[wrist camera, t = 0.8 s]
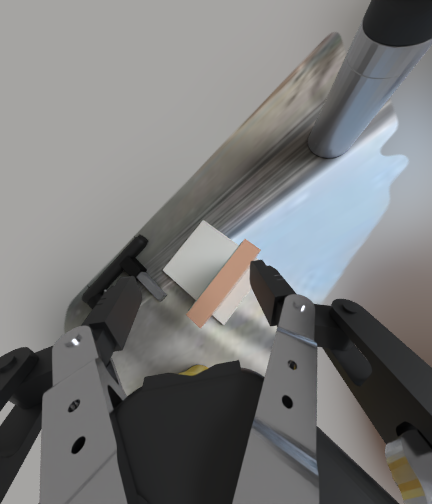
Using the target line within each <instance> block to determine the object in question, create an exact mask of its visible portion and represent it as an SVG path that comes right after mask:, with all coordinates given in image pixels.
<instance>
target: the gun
mask: <svg viewBox="0 0 432 504" xmlns="http://www.w3.org/2000/svg"><path fill="white" fill-rule="evenodd" d="M134 237H135V236H134ZM147 243H148V240H147V239H146V238H145V237H143V236H142V235H139V236H138V237H135V239H134V240H133V241H132V242H131V243H130V244H129V245H128V246H127V247H126V248H125V249H124V251H123V252H122V253H121V254H120V255H119V256H118V257H117V258H116V259H115V260H114V261H113V262H112V264H111V265H110V266H109V267H108V268H107V269H106V270H105V271H104V272H103V273H102V274H101V276H100V277H99V278H98V279H97V280H96V281H95V282H94V283H93V284H92V285H91V286H90V287H88V288H89V289H88V290H87V291H86V292H85V293H84V294H83V296H82V300H83V301H84V302H85V303H88V305H89V306H90V307H91V308H92V309H93V308H94V307H95V306H96V305H97V303H98V301H99V300H101V297H102V296H103V292H106V291H107V290H106V289H107V288H108V287H109V286H110V285H111V284H112V282H113V281H114V280H115V279H116V278H117V277H118V276H119V275H120V274H121V273H122V272H123V270H125V271H126V272H127V274H128V275H129V276H134V277H135V279H136V281H138V280H139V281H140V282H141V283H142V284H143V285H144V286H145V287H146V288H147V289H148V290H149V291H150V292H151V293H152V294H153V295H154V296H155V297H156V298H157V299H158V300H159V301H162V300H163V299H164V298H165V297H166V296H167V295H166V293H165V292H164V291H163V290H162V289H161V288H160V287H159V286H158V285H157V284H156V283H155V282H154V281H153V280H152V279H151V278H150V276H149V275H148V274H147V273H146V271H147V270H146V268H145V267H144V266H143V265H142V264H141V263H140V262H139V261H138V260H137V259H136V258H135V257H136V256H137V255H138V254H139V253H140V252H141V251H142V250H143V249H144V247H145V246H146V245H147Z"/></svg>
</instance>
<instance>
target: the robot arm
mask: <svg viewBox="0 0 432 504" xmlns="http://www.w3.org/2000/svg"><path fill="white" fill-rule="evenodd" d="M431 45H432V0H371V3H370V5H369V7H368V9H367V11H366V13H365V16H364V18H363V20H362V22H361V24H360V26H359V29H358V31H357V33H356V35H355V37H354V40H353V42H352V44H351V46H350V48H349V51H348V53H347V55H346V57H345V59H344V61H343V64H342V66H341V68H340V70H339V72H338V74H337V77H336V79H335V81H334V83H333V85H332V88H331V90H330V92H329V94H328V96H327V98H326V101H325V103H324V105H323V107H322V109H321V111H320V114H319V116H318V118H317V120H316V122H315V124H314V127H313V129H312V131H311V133H310V135H309V137H308V146H309V148H310V150H311V151H312V152H313V153H314V154H316V155H318V156H320V157H325V158H333V157H338V156H340V155H342V154H344V153H345V152H346V151H347V150H348V149H349V148H350V147H351V145H352V144H353V143H354V142H355V140H356V139H357V138H358V137H359V135H360V134H361V133H362V132H363V131H364V129H365V128H366V127H367V126H368V124H369V123H370V122H371V121H372V119H373V118H374V117H375V116H376V114H377V113H378V112H379V111H380V109H381V108H382V107H383V106H384V104H385V103H386V102H387V101H388V99H389V98H390V97H391V96H392V94H393V93H394V91H396V89H397V88H398V87H399V86H400V84H401V83H402V82H403V81H404V79H405V78H406V77H407V76H408V74H409V73H410V72H411V70H412V69H413V68H414V67H415V66H416V64H417V63H418V62H419V60H420V59H421V58H422V57H423V55H424V54H425V53H426V51H427V50H428V49H429V48H430V46H431ZM249 280H250V285H251V288H252V290H253V292H254V294H255V296H256V298H257V300H258V302H259V304H260V306H261V308H262V310H263V312H264V314H265V316H266V318H267V320H268V322H269V325H270V326H276V325H277V331H276V335H275V339H274V343H273V347H272V351H271V355H270V358H269V362H268V366H267V370H266V374H265V377H263V376H262V375H260V374H259V373H257V372H255V371H252V370H250V369H246V368H241V367H240V362H239V360H237V361H232V362H226V363H221V364H216V365H214V366H212V367H210V368H208V369H206V370H204V371H202V372H200V373H198V374H196V375H193V376H189V375H182V374H174V373H165V374H160V375H154V376H148V377H145V378H144V382H143V386H142V387H140V388H139V389H137V390H136V391H134V392H133V393H131V394H130V395H129V396H126V394H125V392H124V390H123V388H122V385H121V382H120V379H119V376H118V374H117V371H116V368H115V365H114V362H113V360H112V358H111V356H112V354H113V352H114V351H120V350H123V347H124V345H125V342H126V340H127V337H128V335H129V332H130V330H131V327H132V325H133V322H134V319H135V317H136V314H137V312H138V309H139V307H140V304H141V301H142V294H141V291H140V289H139V286H138V284H137V281H136V279H135V277H134V276H128V277H121V278H120V279H119V280H118V281H117V283H116V284H115V286H112V287H111V288H110V289H108V290H107V291H106V292H105V293H104V294H103V296H102V297H101V300H99V301H98V303H97V305H96V306H95V307H94V308H93V310H92V311H91V313H90V314H89V315H88V317H87V318H86V319H85V321H84V322H83V324H82V325H81V326H79V327H76V328H74V329H72V330H70V331H68V332H67V333H65V334H64V335H63V336H61V337H60V338H59V339H58V340H57V341H56V343H55V344H54V346H51V347H48V348H46V349H43V350H41V351H38V352H36V353H34V352H33V351H31V350H30V349H29V348H27V347H23V348H19V349H15V350H13V351H11V352H9V353H7V354H5V355H3V356H2V357H0V411H1V410H2V408H3V407H4V406H5V404H6V403H7V402H8V401H10V402H12V403H13V404H15V406H14V407H13V409H12V410H11V412H10V413H9V415H8V416H7V417H6V419H5V420H4V422H3V423H2V424H1V426H0V503H1V502H2V500H3V498H4V496H5V494H6V493H7V491H8V489H9V487H10V485H11V484H12V482H13V480H14V478H15V476H16V475H17V473H18V471H19V469H20V467H21V465H22V464H23V462H24V460H25V458H26V456H27V454H28V452H29V451H30V449H31V447H32V445H33V443H34V441H35V440H36V438H37V436H38V434H39V432H40V430H41V429H42V434H41V469H40V503H39V504H399V503H398V502H397V501H396V500H395V499H394V498H393V497H392V496H391V495H390V494H389V493H388V492H386V491H385V490H384V489H383V488H382V487H381V486H380V485H379V484H378V483H377V482H376V481H375V480H374V479H373V478H371V477H370V476H369V475H368V474H367V473H366V472H365V471H364V470H363V469H362V468H361V467H360V466H359V465H357V463H356V462H354V460H352V459H351V458H350V457H349V456H348V455H347V454H346V453H345V452H344V451H343V450H342V449H341V448H340V447H339V446H338V445H336V444H335V443H334V442H333V441H332V440H331V439H330V438H329V437H328V436H327V435H326V434H325V433H324V432H322V430H321V429H320V428H318V427H317V426H316V421H317V347H322V348H323V349H324V351H325V352H326V354H327V355H328V357H329V358H330V360H331V361H332V363H333V365H334V366H335V367H336V369H337V370H338V372H339V374H340V375H341V377H342V378H343V380H344V381H345V383H346V384H347V386H348V387H349V389H350V390H351V392H352V393H353V395H354V396H355V398H356V399H357V401H358V402H359V404H360V405H361V407H362V408H363V410H364V411H365V413H366V415H367V416H368V418H369V419H370V421H371V422H372V424H373V425H374V427H375V428H376V430H377V431H378V433H379V434H380V436H381V437H382V439H383V440H384V442H385V443H386V448H385V455H386V460H387V463H388V466H389V468H390V471H391V473H392V477H393V479H394V481H395V483H396V484H397V486H398V487H399V489H400V491H401V494H402V497H403V500H404V504H432V368H431V367H430V366H429V365H428V364H427V363H426V362H424V361H423V360H422V359H421V358H420V357H419V356H418V355H416V354H415V353H414V352H413V351H412V350H411V349H410V348H408V347H407V346H406V345H405V344H404V343H403V342H402V341H400V340H399V339H398V338H397V337H396V336H395V335H394V334H392V333H391V332H390V331H389V330H388V329H387V328H386V327H385V326H383V325H382V324H381V323H380V322H379V321H378V320H377V319H375V318H374V317H373V316H372V315H371V314H370V313H369V312H367V311H366V310H365V309H364V308H363V307H361V306H360V305H358V304H357V303H355V302H352V301H350V300H346V299H336V300H334V301H333V302H332V304H331V306H327V305H318V304H313V303H312V301H311V300H309V299H308V298H306V297H304V296H302V295H297V294H296V293H295V292H294V290H293V289H292V288H291V287H290V285H289V284H288V283H287V282H286V281H285V279H284V278H283V277H282V276H281V275H280V273H279V272H278V271H277V270H276V269H275V268H273V267H271V266H266V265H265V263H264V262H263V261H262V260H255V261H251V262H250V277H249ZM354 344H355V345H356V346H355V345H354ZM359 350H360V351H361V352H360V351H359ZM364 356H365V357H366V358H367V359H366V358H365V357H364Z"/></svg>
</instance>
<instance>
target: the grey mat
mask: <svg viewBox="0 0 432 504" xmlns="http://www.w3.org/2000/svg"><path fill="white" fill-rule="evenodd" d="M238 246H239V245H237V244H236V243H235V242H233V241H232V240H230V239H229V238H228V237H226V236H225V235H223V234H222V233H221V232H219V231H218V230H216V229H215V228H214V227H212V226H211V225H210V224H208V223H207V222H205V221H204V220H203V221H202V222H201V223H200V224H199V226H198V227H197V228H196V229H195V231H194V232H193V233H192V234H191V236H190V237H189V238H188V239H187V240H186V242H185V243H184V244H183V245H182V247H181V248H180V249H179V250H178V252H177V253H176V254H175V255H174V257H173V258H172V259H171V260H170V261H169V263H168V264H167V265H166V266H165V268H164V269H163V271H164V272H165V273H166V274H167V275H168V276H170V277H171V278H172V279H173V280H174V281H175V282H176V283H177V284H178V285H180V286H181V287H182V288H183V289H184V290H185V291H186V292H187V293H188V294H190V295H191V296H192V297H193V298H194V299H195V300H197V299H198V297H199V296H200V295H201V294H202V292H203V291H204V290H205V289H206V287H207V286H208V285H209V283H210V282H211V281H212V280H213V278H214V277H215V276H216V274H217V273H218V272H219V271H220V269H221V268H222V267H223V265H224V264H225V263H226V262H227V260H228V259H229V258H230V256H231V255H232V254H233V253H234V251H235V250H236V249H237V247H238ZM255 260H258V259H257V258H256V259H255ZM266 266H267V265H266ZM249 277H250V268H249V269H248V271H247V272H246V273H245V275H244V276H243V277H242V279H241V280H240V281H239V282H238V284H237V285H236V286H235V288H234V289H233V290H232V292H231V293H230V294H229V295H228V297H227V298H226V299H225V301H224V302H223V303H222V305H221V306H220V307H219V309H218V310H217V311H216V312H215V313H214V314H213V316H214V317H215V318H216V319H217V320H218V321H220V322H221V323H222V324H223V325H224V324H225V323H226V322H227V320H228V319H229V318H230V316H231V315H232V314H233V312H234V311H235V310H236V308H237V307H238V306H239V304H240V303H241V302H242V300H243V299H244V298H245V296H246V295H247V294H248V292H249V291H250V290H251V285H250V280H249Z"/></svg>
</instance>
